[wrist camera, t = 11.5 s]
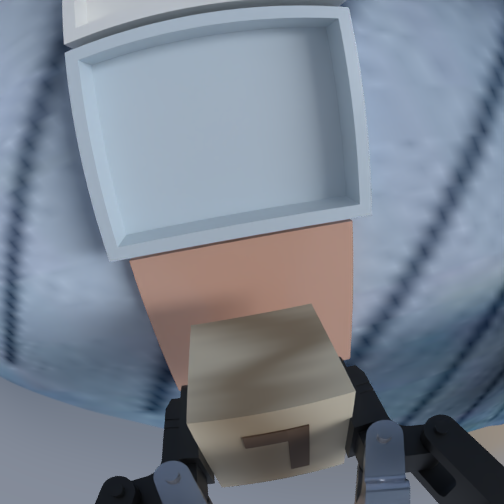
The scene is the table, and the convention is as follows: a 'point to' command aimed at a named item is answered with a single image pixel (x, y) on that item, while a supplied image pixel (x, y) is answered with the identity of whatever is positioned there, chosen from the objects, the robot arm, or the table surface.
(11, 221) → the table surface
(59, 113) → the table surface
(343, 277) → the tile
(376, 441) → the robot arm
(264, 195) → the middle tray
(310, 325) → the letter cube
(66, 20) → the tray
